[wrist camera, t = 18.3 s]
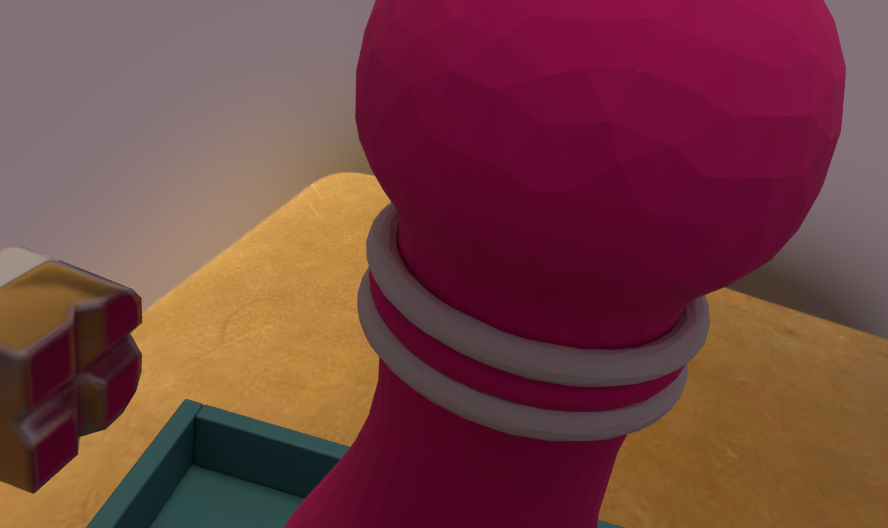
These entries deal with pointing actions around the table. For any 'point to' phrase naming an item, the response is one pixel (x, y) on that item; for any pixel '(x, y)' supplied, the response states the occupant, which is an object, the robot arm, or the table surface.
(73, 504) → the table surface
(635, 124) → the pepper mill
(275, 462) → the tray
